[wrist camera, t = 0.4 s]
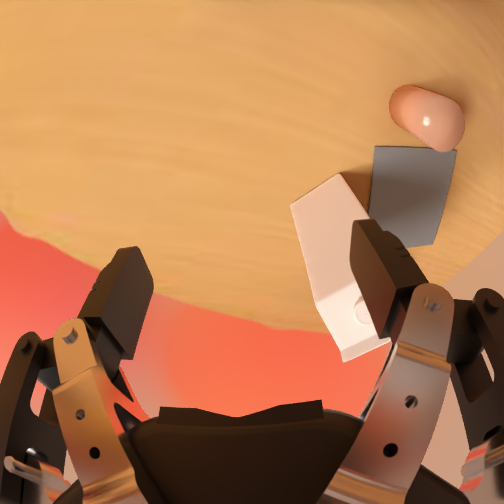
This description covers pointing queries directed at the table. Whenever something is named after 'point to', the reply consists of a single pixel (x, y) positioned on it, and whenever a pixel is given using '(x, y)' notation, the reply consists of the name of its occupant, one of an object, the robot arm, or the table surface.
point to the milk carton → (335, 264)
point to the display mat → (410, 191)
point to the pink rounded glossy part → (428, 117)
